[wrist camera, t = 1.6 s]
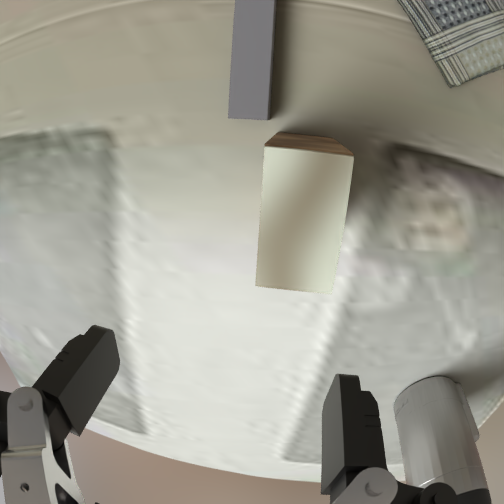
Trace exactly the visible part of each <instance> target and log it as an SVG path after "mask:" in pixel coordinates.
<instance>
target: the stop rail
mask: <svg viewBox="0 0 504 504" xmlns="http://www.w3.org/2000/svg"><path fill="white" fill-rule="evenodd" d="M276 2H277V0H235V12H234V25H233V40H232V56H231V73H230V91H229V111H228V118H233V119H254V120H270V104H271V88H272V72H273V55H274V38H275V20H276Z"/></svg>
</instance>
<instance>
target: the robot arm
mask: <svg viewBox="0 0 504 504" xmlns="http://www.w3.org/2000/svg"><path fill="white" fill-rule="evenodd" d="M119 365H120V358H119V353H118V349H117V344H116V340H115V335H114V332H113V330H111V329H107V328H104V327H100V326H97V325H93V326H91V327H90V328H89V330H88V331H87V332H86V333H85V334H84V335H81V334H80V335H78V336H76V337H75V338H73V339H71V340H70V341H69V342H68V343H67V344H66V345H65V346H64V348H63V349H62V351H61V352H59V354H58V355H57V356H56V359H54V360H53V361H52V362H51V364H50V365H49V366H48V367H47V368H46V370H45V371H44V372H43V374H42V375H41V376H40V377H39V379H38V380H37V381H36V382H35V384H34V385H33V386H32V387H21V388H18V389H16V390H15V391H14V392H13V393H9V392H4V391H0V477H1V475H2V478H3V486H4V495H5V502H6V504H86V503H85V500H84V497H83V495H82V493H81V491H80V489H79V487H78V485H77V483H76V479H75V475H74V471H73V467H72V462H71V458H70V453H69V448H68V443H67V439H66V437H67V435H68V433H69V432H71V433H73V434H75V435H77V436H80V435H81V433H82V431H83V430H84V428H85V426H86V424H87V423H88V421H89V419H90V418H91V416H92V414H93V412H94V411H95V409H96V407H97V406H98V404H99V402H100V401H101V399H102V397H103V396H104V394H105V392H106V391H107V389H108V387H109V386H110V384H111V383H112V381H113V379H114V378H115V376H116V374H117V372H118V370H119ZM394 412H395V419H396V423H397V428H398V434H399V440H400V445H401V451H402V458H403V464H404V471H405V478H406V484H403V483H401V482H399V481H397V480H396V479H395V477H394V476H393V475H392V474H391V473H390V472H389V471H388V469H387V465H386V458H385V450H384V443H383V436H382V429H381V422H380V418H379V409H378V403H377V401H376V400H375V398H374V397H373V395H372V394H371V392H370V391H361V387H360V380H359V377H358V376H357V375H346V374H336V375H335V377H334V380H333V382H332V385H331V387H330V389H329V392H328V394H327V396H326V399H325V402H324V405H323V411H322V475H321V494H323V495H330V504H491V498H490V493H489V490H488V485H487V481H486V477H485V474H484V470H483V466H482V463H481V460H480V456H479V453H478V449H477V446H476V443H475V442H476V441H477V440H478V439H479V432H478V429H477V426H476V423H475V420H474V418H473V415H472V412H471V409H470V407H469V404H468V402H467V399H466V397H465V394H464V392H463V389H462V387H461V384H460V383H454V382H453V381H452V380H451V379H449V378H447V377H431V378H427V379H424V380H421V381H419V382H417V383H415V384H413V385H411V386H410V387H408V388H407V389H406V390H404V391H403V392H402V393H401V394H400V395H399V396H398V398H397V399H396V401H395V404H394ZM95 504H99V503H95Z"/></svg>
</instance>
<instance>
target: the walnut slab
mask: <svg viewBox="0 0 504 504" xmlns="http://www.w3.org/2000/svg"><path fill="white" fill-rule="evenodd" d="M353 155H354V154H353V153H352V152H351V151H349V150H348V149H347V148H345V147H344V146H343V145H341V144H340V143H339V142H337V141H336V140H334V139H333V138H327V137H319V136H311V135H301V134H291V133H280V132H278V133H277V134H275V135H274V136H273V137H272V138H271V139H270V140H269V141H268V142H266V143H265V148H264V163H263V179H262V194H261V210H260V225H259V240H258V254H257V269H256V284H255V286H259V287H267V288H276V289H285V290H294V291H303V292H313V293H322V294H332V290H333V285H334V280H335V275H336V270H337V264H338V259H339V254H340V248H341V242H342V237H343V231H344V225H345V218H346V212H347V206H348V199H349V192H350V185H351V177H352V170H353V162H354V156H353Z"/></svg>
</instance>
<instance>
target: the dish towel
mask: <svg viewBox="0 0 504 504" xmlns="http://www.w3.org/2000/svg"><path fill="white" fill-rule="evenodd" d="M397 1H398V2H399V3H400V5H401V6H402V7H403V9H404V11H405V12H406V13H407V15H408V16H409V18H410V20H411V21H412V23H413V24H414V26H415V28H416V30H417V31H418V33H419V34H420V36H421V38H422V40H423V42H424V43H425V45H426V47H427V48H428V50H429V52H430V54H431V56H432V58H433V60H434V61H435V63H436V65H437V66H438V68H439V70H440V71H441V73H442V75H443V77H444V79H445V81H446V83H447V85H448V86H449V87H450V88H452V87H454V86H460V85H461V84H462V83H463V82H466V81H468V80H471V79H474V78H477V77H480V76H482V75H485V74H488V73H491V72H495V71H498V70H502V69H504V0H397Z"/></svg>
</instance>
